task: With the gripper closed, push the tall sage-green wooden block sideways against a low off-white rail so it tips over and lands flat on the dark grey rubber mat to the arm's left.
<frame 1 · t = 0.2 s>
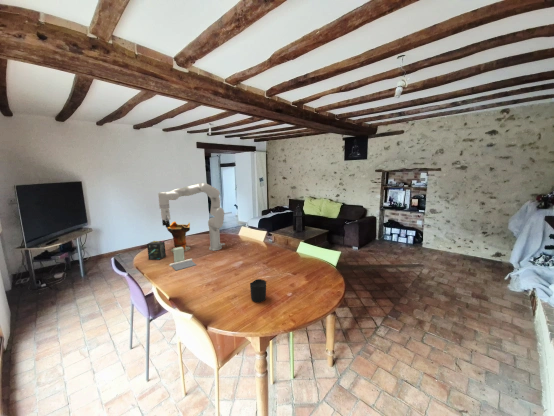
hand: (166, 226, 193), 30 cm above the table, tool pointing down, fingers open, 9 cm apart
pen holder: (258, 298, 134), on the table
decorative vase: (180, 249, 224), on the table
sage block: (179, 261, 192), on the table
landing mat: (184, 265, 184), on the table
tampon box: (157, 258, 202), on the table
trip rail: (181, 263, 189), on the table
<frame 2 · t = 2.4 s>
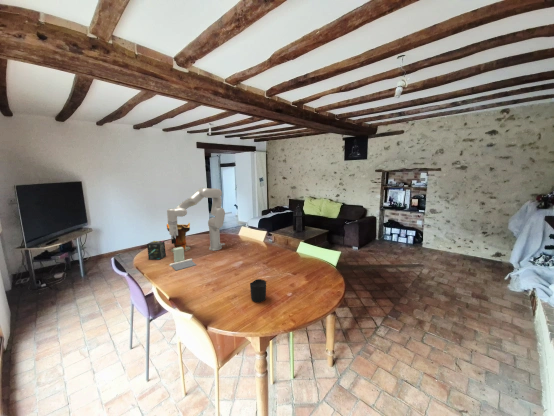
hand: (173, 243, 197), 14 cm above the table, tool pointing down, fingers closed
nothing on the table moved.
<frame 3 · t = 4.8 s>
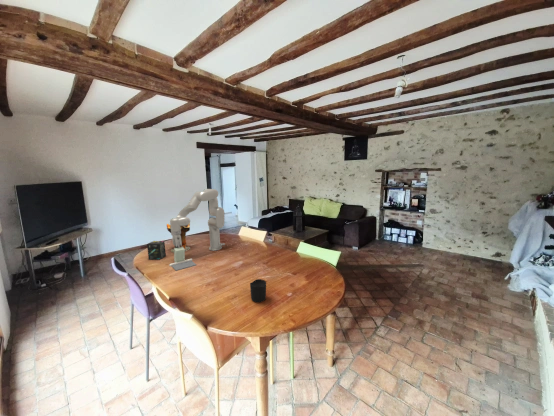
hand: (177, 253, 194), 7 cm above the table, tool pointing down, fingers closed
sage block: (179, 261, 192), point 1 cm above the table, tilted 13°
everything else where it was.
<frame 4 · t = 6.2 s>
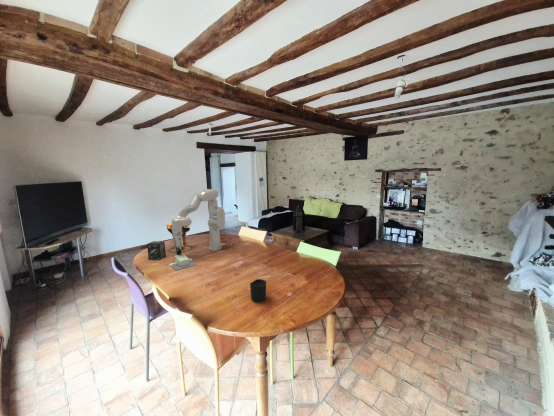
hand: (179, 254, 190), 7 cm above the table, tool pointing down, fingers closed
sage block: (179, 257, 190), point 4 cm above the table, tilted 96°, touching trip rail
everything else where it was.
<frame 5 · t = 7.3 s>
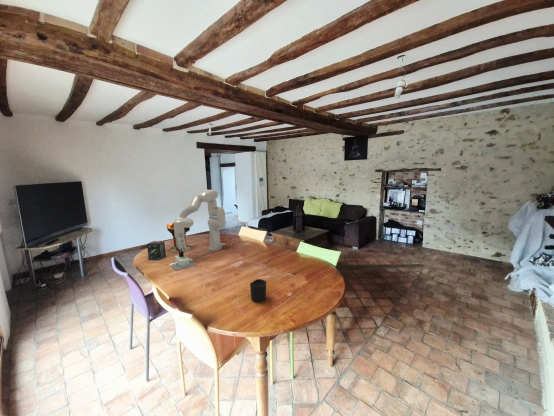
hand: (181, 256, 186), 7 cm above the table, tool pointing down, fingers closed
sage block: (179, 257, 190), point 4 cm above the table, tilted 96°, touching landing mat, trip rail
everything else where it was.
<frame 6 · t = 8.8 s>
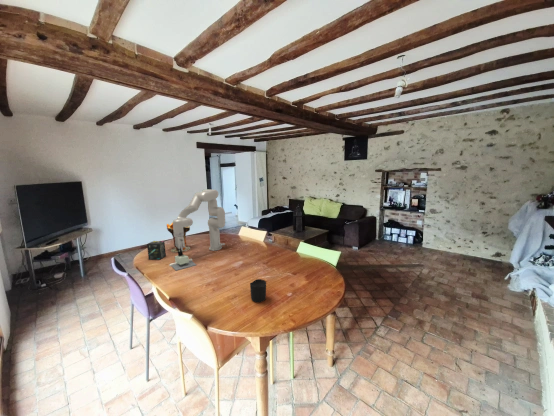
hand: (180, 255, 188), 7 cm above the table, tool pointing down, fingers closed
sage block: (179, 258, 190), point 4 cm above the table, tilted 83°, touching gripper, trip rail
everything else where it was.
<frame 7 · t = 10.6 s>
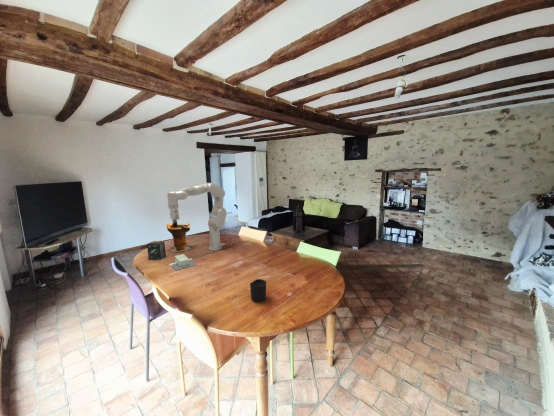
hand: (175, 227, 192), 29 cm above the table, tool pointing down, fingers closed
sage block: (179, 257, 190), point 4 cm above the table, tilted 96°, touching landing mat, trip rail
everything else where it was.
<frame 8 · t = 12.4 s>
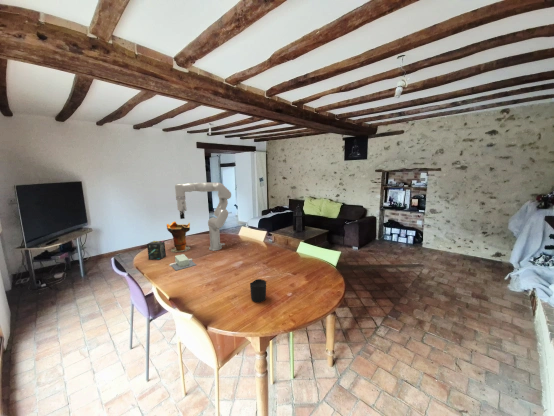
hand: (182, 218, 199), 35 cm above the table, tool pointing down, fingers closed
nothing on the table moved.
at the end: sage block tilted 96°; sage block inside the target area (10.2 cm from its centre), point 4.4 cm above the table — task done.
